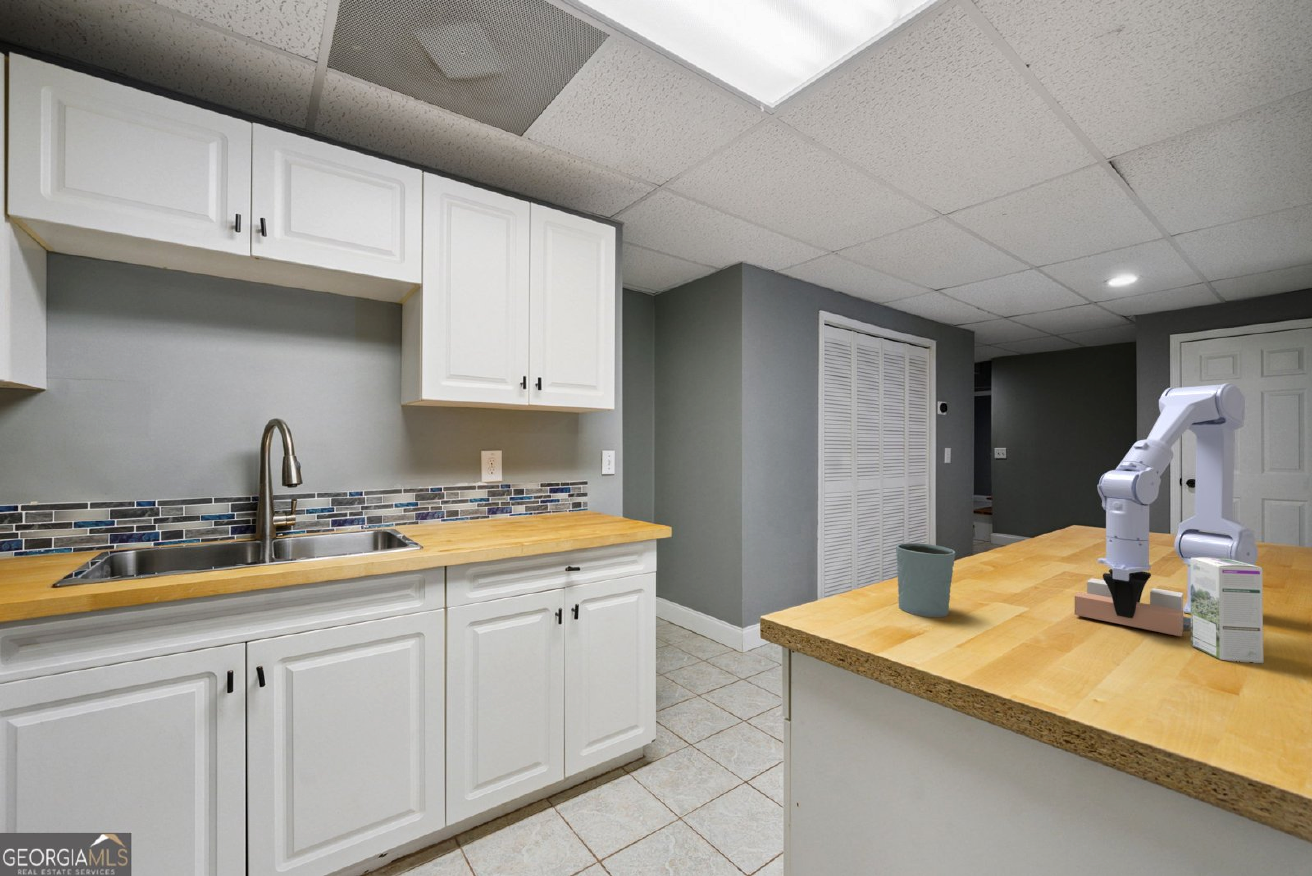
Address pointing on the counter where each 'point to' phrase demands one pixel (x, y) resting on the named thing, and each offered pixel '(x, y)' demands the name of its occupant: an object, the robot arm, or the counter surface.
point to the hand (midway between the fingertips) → (1126, 613)
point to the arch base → (1156, 597)
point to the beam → (1143, 616)
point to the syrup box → (1227, 609)
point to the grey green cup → (924, 578)
